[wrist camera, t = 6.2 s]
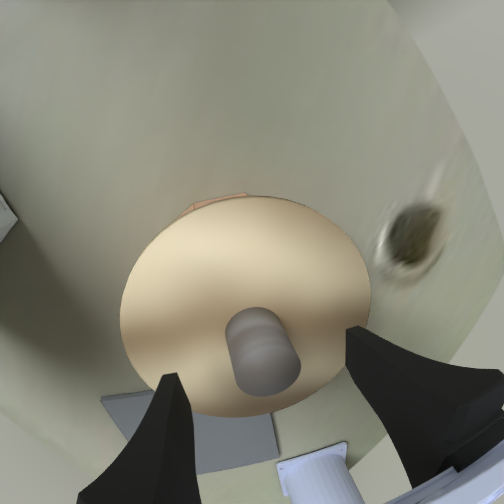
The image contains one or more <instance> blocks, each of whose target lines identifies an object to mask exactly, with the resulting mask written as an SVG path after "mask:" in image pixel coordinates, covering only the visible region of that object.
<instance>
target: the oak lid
mask: <svg viewBox="0 0 504 504" xmlns="http://www.w3.org/2000/svg"><path fill="white" fill-rule="evenodd" d="M370 304H371V288H370V281H369V275H368V272H367V269H366V266H365V263H364V260H363V258H362V256H361V254H360V252H359V250H358V249H357V247H356V246H355V244H354V243H353V242H352V240H351V239H350V237H349V236H348V235H347V234H346V233H345V232H344V231H343V230H342V229H341V228H340V227H339V226H337V225H336V224H335V223H333V222H332V221H331V220H329V219H328V218H326V217H325V216H323V215H322V214H320V213H318V212H317V211H315V210H313V209H311V208H309V207H307V206H305V205H302V204H299V203H296V202H293V201H290V200H287V199H282V198H276V197H271V196H241V197H232V198H227V199H223V200H219V201H215V202H211V203H209V204H206V205H204V206H201V207H199V208H196V209H194V210H192V211H190V212H188V213H186V214H185V215H183V216H181V217H179V218H177V219H176V220H175V221H173V222H172V223H171V224H169V225H168V226H167V227H165V228H164V229H163V230H162V231H161V232H160V233H159V234H158V235H157V236H156V237H155V238H154V239H153V240H152V241H151V242H150V243H149V244H148V245H147V247H146V248H145V249H144V251H143V252H142V253H141V255H140V256H139V257H138V259H137V261H136V263H135V265H134V267H133V269H132V271H131V273H130V275H129V278H128V281H127V284H126V287H125V290H124V293H123V296H122V302H121V308H120V329H121V335H122V341H123V344H124V347H125V350H126V353H127V356H128V358H129V360H130V361H131V363H132V365H133V367H134V369H135V370H136V371H137V373H138V374H139V375H140V377H141V378H142V379H143V380H144V381H145V382H146V383H147V384H148V386H149V387H150V388H152V389H153V390H154V391H156V389H157V386H158V384H159V381H160V379H161V377H162V375H164V374H169V373H175V372H177V373H178V376H179V378H180V381H181V383H182V385H183V388H184V390H185V393H186V395H187V397H188V399H189V402H190V404H191V409H192V411H193V412H196V413H199V414H204V415H209V416H215V417H225V418H241V417H252V416H258V415H263V414H268V413H271V412H275V411H278V410H281V409H284V408H286V407H289V406H291V405H294V404H296V403H298V402H300V401H302V400H304V399H305V398H307V397H309V396H310V395H312V394H313V393H315V392H317V391H318V390H319V389H321V388H322V387H323V386H324V385H326V384H327V383H328V382H329V381H330V380H331V379H332V378H334V377H335V376H336V375H337V374H338V373H339V371H340V370H341V369H342V368H343V367H344V366H345V350H346V329H348V328H351V327H354V326H357V325H359V326H361V327H363V328H364V329H365V328H366V325H367V321H368V317H369V312H370Z"/></svg>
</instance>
